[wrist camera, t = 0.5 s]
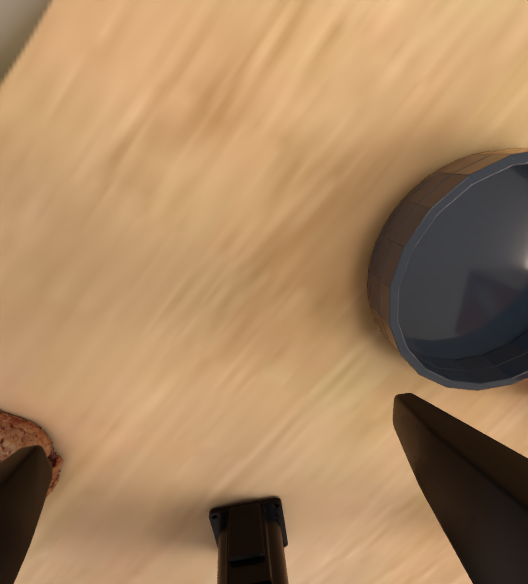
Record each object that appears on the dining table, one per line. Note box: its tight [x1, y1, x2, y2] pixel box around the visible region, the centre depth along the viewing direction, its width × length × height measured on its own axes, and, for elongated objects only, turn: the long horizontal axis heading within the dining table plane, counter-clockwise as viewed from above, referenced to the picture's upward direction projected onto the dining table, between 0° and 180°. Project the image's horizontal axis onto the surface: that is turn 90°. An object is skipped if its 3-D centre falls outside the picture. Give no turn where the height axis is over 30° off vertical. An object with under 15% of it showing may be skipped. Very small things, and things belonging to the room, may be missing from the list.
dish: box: [367, 148, 528, 390], centre depth 22 cm, size 15×15×4 cm
